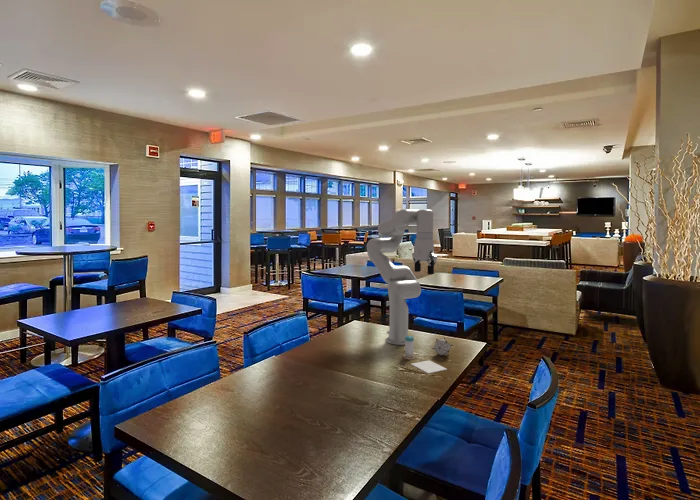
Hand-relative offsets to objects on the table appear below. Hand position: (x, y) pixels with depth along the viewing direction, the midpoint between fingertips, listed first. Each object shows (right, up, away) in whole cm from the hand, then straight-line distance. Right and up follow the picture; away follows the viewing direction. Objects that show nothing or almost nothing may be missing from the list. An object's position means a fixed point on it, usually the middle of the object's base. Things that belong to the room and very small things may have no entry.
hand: (423, 272), depth 193 cm
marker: (-7, -38, -3) cm, 39 cm away
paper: (-1, -40, -15) cm, 42 cm away
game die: (+8, -39, 0) cm, 40 cm away
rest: (-7, -39, -3) cm, 39 cm away
